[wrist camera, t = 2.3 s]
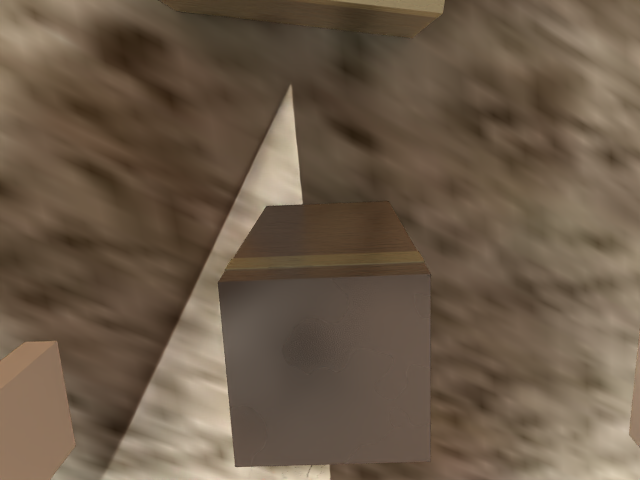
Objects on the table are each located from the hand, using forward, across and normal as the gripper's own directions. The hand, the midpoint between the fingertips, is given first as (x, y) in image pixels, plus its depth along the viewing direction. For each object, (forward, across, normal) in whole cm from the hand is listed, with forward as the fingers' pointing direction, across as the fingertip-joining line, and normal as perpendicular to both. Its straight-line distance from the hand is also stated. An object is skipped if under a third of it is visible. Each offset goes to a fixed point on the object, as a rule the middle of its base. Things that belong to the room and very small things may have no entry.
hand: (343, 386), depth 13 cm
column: (+11, 0, 0) cm, 11 cm away
